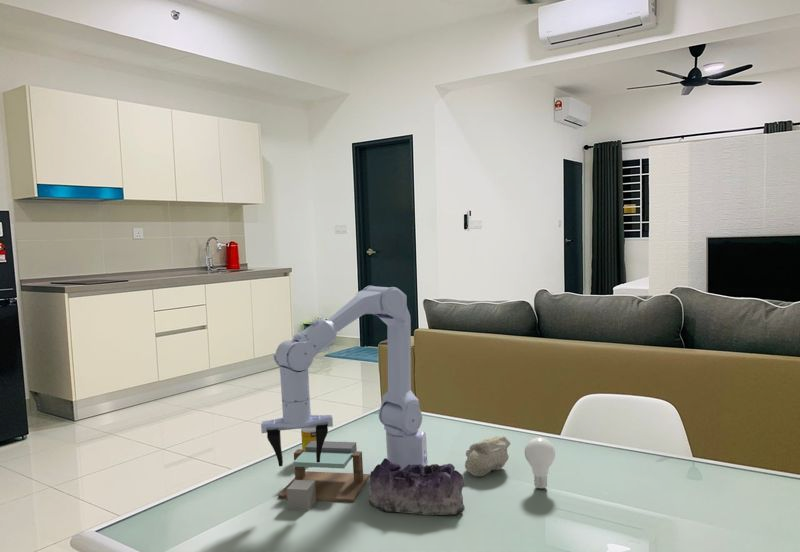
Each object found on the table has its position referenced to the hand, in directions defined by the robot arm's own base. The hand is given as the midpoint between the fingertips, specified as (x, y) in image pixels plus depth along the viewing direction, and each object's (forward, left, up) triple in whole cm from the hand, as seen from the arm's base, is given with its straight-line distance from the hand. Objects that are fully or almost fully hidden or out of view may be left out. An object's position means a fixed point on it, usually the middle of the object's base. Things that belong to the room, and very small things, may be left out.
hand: (299, 462), depth 123 cm
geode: (-24, -3, -10) cm, 26 cm away
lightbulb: (-49, -14, -9) cm, 52 cm away
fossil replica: (-37, -22, -9) cm, 44 cm away
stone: (0, 0, -9) cm, 9 cm away
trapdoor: (-2, -11, -3) cm, 11 cm away
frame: (-2, -10, -9) cm, 13 cm away
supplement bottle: (+7, -26, -9) cm, 28 cm away
